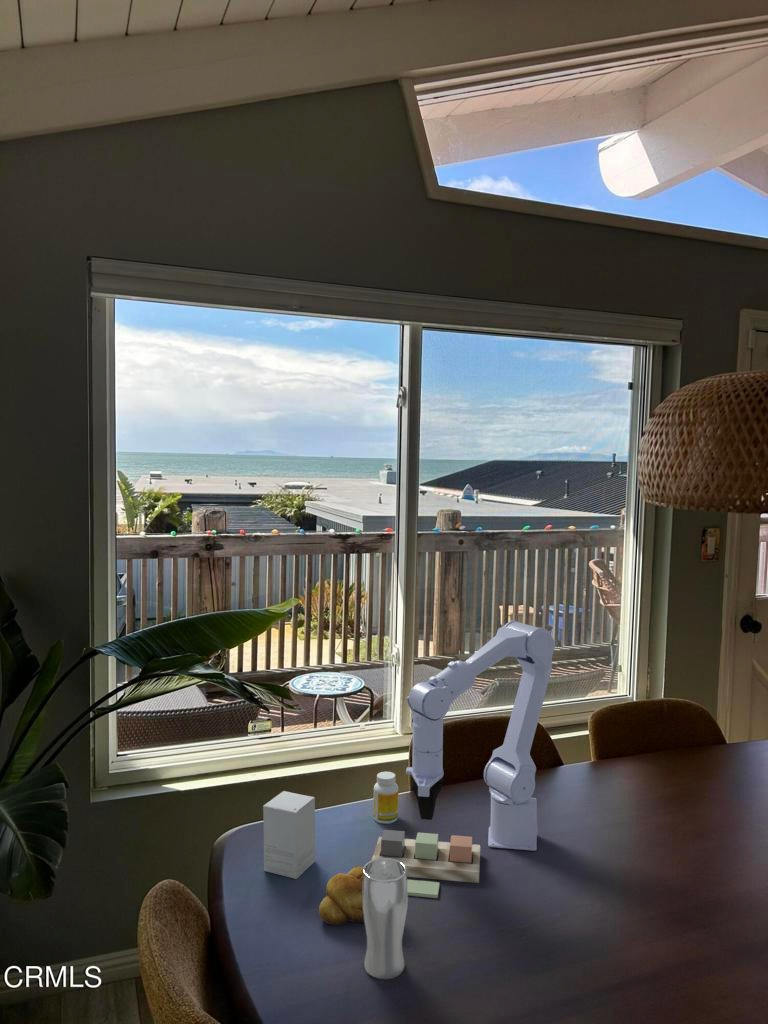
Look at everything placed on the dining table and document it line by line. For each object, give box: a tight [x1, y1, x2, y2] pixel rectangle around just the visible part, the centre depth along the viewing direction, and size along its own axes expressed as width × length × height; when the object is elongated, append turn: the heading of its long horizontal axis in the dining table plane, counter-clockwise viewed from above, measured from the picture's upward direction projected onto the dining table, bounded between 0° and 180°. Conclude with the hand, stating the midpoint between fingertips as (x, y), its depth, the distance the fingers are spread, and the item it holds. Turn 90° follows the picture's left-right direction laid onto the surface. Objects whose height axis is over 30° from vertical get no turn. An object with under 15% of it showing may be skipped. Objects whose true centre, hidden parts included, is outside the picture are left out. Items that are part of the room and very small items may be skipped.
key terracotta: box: [449, 834, 473, 864], centre depth 138 cm, size 4×4×3 cm
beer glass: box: [362, 858, 409, 980], centre depth 110 cm, size 7×7×15 cm
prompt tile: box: [407, 878, 440, 899], centre depth 130 cm, size 6×4×1 cm, turn 81°
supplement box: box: [262, 790, 316, 880], centre depth 138 cm, size 7×7×13 cm
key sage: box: [415, 832, 439, 861], centre depth 139 cm, size 4×4×3 cm
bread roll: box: [318, 865, 364, 926], centre depth 123 cm, size 13×10×8 cm
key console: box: [371, 836, 481, 884], centre depth 139 cm, size 20×10×2 cm, turn 81°
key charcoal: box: [381, 829, 406, 858], centre depth 140 cm, size 4×4×3 cm
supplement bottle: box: [372, 771, 399, 825], centre depth 157 cm, size 5×5×10 cm
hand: (426, 817), depth 138 cm, fingers closed
